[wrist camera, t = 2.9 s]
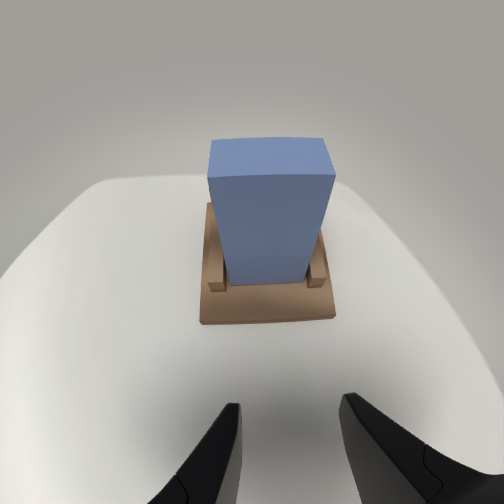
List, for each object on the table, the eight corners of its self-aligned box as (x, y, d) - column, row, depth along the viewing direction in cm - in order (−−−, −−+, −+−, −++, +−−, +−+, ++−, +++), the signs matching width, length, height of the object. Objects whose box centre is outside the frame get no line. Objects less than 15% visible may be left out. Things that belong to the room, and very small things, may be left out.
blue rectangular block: (302, 282, 22) (336, 174, 12) (230, 285, 22) (207, 177, 12) (298, 251, 24) (322, 138, 14) (230, 253, 24) (211, 140, 14)
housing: (332, 318, 22) (350, 296, 17) (201, 324, 22) (187, 304, 18) (312, 205, 28) (320, 170, 24) (208, 208, 28) (200, 174, 24)
